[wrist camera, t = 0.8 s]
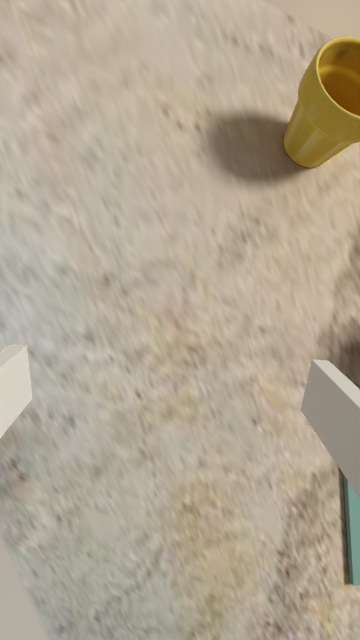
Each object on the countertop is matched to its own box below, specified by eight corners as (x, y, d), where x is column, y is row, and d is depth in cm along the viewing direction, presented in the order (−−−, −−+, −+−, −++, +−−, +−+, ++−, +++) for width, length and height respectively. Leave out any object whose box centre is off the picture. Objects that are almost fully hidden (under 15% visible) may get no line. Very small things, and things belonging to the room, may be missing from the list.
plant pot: (322, 196, 39) (385, 138, 29) (256, 152, 38) (299, 78, 29) (350, 142, 41) (417, 73, 32) (289, 100, 41) (338, 17, 31)
